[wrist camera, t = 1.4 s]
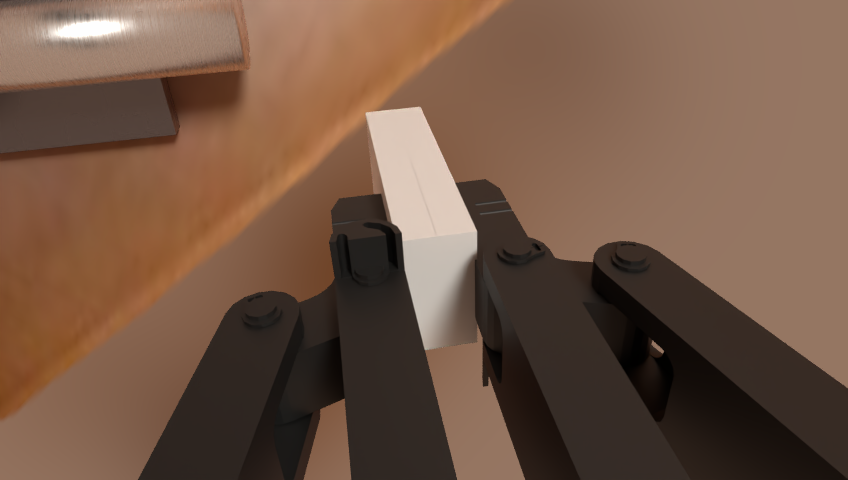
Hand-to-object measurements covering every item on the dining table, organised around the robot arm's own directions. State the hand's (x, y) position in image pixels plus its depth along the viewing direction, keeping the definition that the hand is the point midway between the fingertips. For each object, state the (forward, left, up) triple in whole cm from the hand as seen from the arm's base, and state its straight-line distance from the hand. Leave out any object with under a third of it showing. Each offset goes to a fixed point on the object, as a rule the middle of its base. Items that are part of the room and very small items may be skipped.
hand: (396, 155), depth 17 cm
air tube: (0, -16, -18) cm, 24 cm away
